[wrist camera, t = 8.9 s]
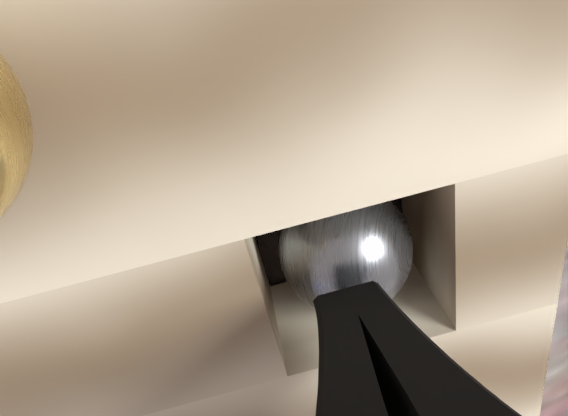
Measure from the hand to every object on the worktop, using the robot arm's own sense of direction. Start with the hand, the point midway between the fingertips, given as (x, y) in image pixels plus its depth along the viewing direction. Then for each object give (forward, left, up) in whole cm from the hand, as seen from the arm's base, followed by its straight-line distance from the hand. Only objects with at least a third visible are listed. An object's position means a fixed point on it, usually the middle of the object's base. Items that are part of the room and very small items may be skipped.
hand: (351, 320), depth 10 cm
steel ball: (0, 0, -3) cm, 3 cm away
